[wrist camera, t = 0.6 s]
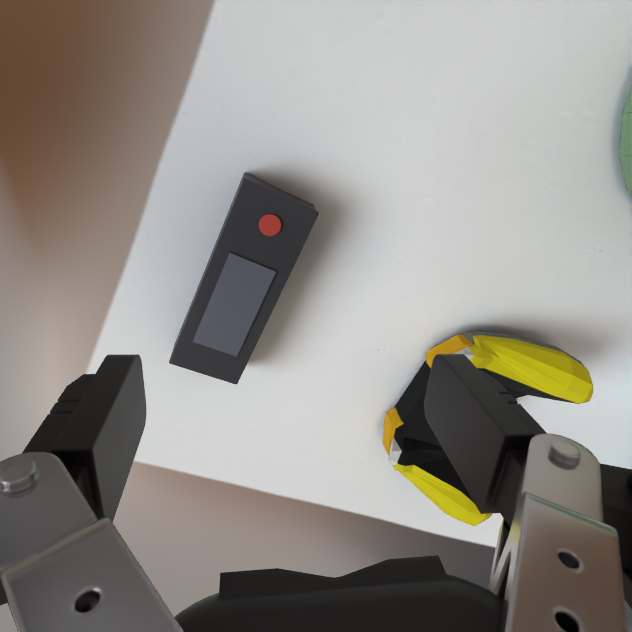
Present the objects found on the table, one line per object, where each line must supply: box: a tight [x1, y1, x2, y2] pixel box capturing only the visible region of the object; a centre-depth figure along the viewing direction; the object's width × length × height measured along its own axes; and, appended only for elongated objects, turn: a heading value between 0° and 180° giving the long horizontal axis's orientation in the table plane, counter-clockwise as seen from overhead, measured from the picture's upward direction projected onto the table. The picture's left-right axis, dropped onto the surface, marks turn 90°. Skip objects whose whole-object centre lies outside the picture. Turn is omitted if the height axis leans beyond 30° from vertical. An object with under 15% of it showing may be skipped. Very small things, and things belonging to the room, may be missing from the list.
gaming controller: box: [383, 331, 593, 526], centre depth 31 cm, size 15×6×10 cm
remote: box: [169, 173, 319, 384], centre depth 26 cm, size 12×4×3 cm, turn 154°
